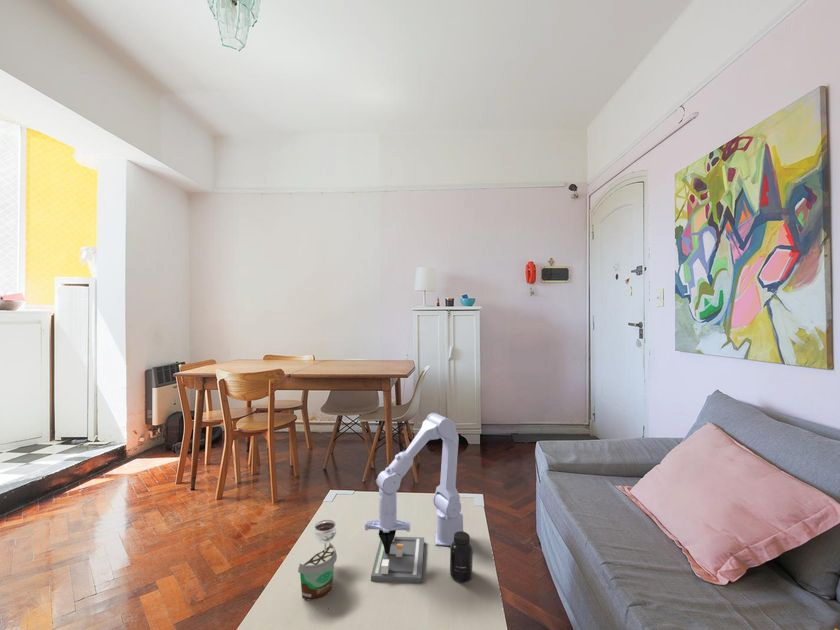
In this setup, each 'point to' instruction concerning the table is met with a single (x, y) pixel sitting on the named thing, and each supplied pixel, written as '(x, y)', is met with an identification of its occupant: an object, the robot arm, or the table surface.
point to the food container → (318, 574)
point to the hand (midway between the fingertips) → (387, 551)
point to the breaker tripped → (399, 550)
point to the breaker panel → (400, 561)
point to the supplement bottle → (461, 557)
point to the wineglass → (325, 531)
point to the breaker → (385, 566)
